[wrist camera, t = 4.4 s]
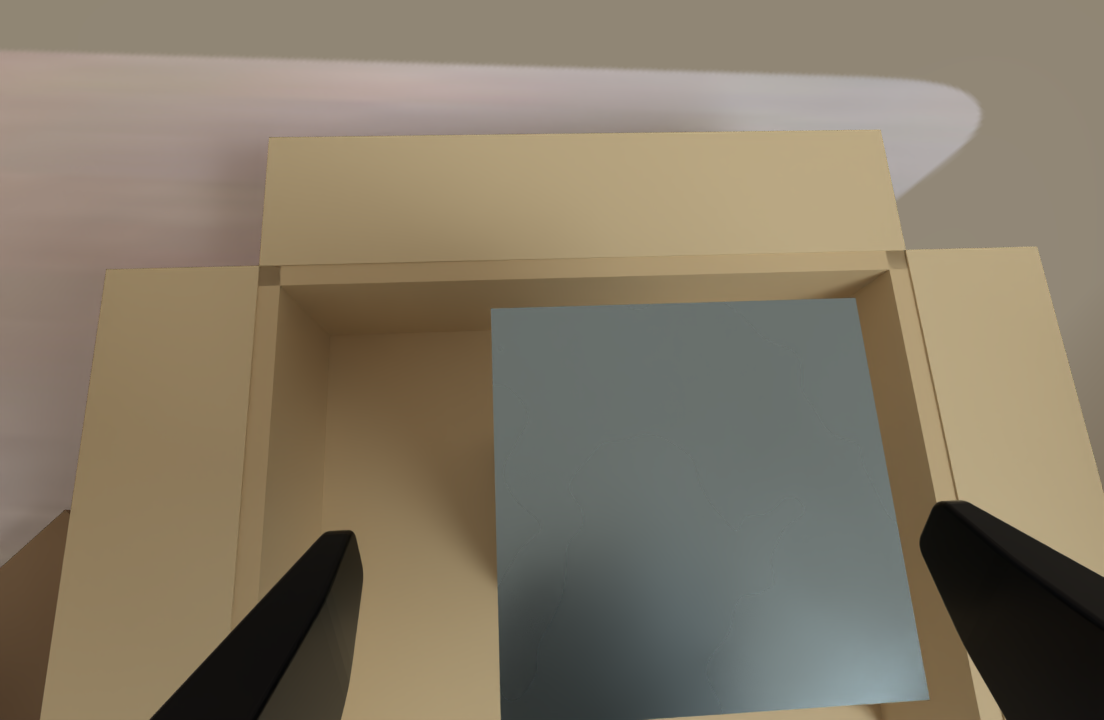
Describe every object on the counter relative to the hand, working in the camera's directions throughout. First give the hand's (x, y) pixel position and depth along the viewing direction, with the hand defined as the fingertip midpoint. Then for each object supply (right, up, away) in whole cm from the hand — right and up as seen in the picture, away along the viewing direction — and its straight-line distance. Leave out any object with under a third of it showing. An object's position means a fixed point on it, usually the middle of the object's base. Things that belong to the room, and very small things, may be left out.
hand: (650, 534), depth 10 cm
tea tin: (0, -2, +8) cm, 8 cm away
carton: (0, -3, +8) cm, 9 cm away
